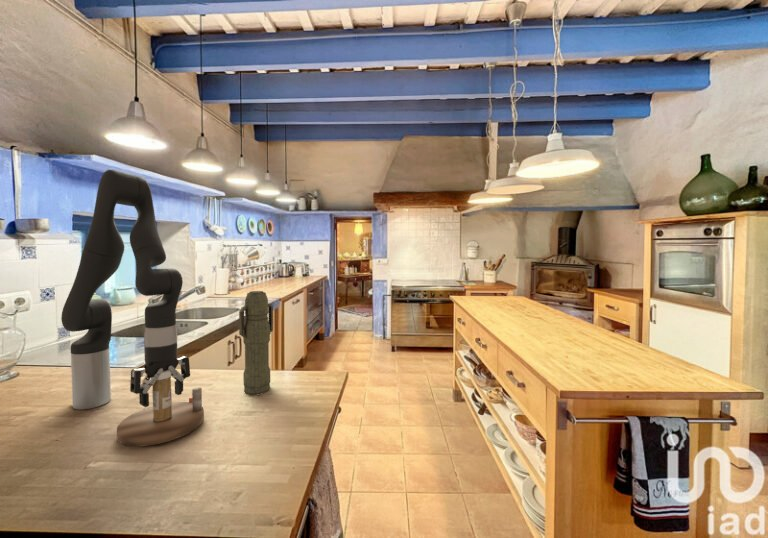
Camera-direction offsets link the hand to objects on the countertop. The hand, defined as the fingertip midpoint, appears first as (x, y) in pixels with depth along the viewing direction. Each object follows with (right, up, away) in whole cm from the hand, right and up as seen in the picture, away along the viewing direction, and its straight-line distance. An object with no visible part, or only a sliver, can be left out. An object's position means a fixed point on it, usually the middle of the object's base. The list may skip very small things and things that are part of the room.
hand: (162, 399), depth 93 cm
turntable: (0, -8, 0) cm, 8 cm away
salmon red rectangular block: (+2, -8, +12) cm, 14 cm away
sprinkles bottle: (0, -5, 0) cm, 5 cm away
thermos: (+16, -7, +27) cm, 32 cm away
